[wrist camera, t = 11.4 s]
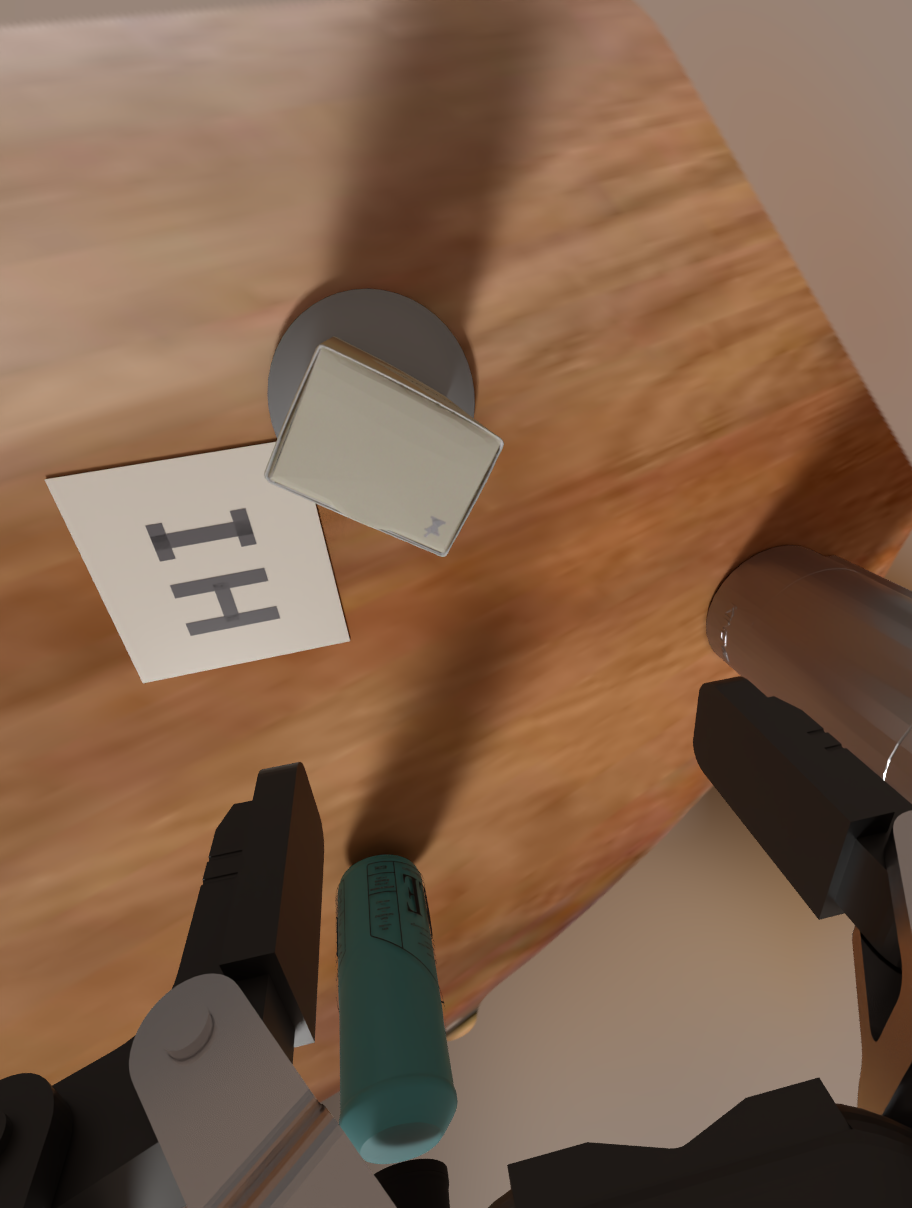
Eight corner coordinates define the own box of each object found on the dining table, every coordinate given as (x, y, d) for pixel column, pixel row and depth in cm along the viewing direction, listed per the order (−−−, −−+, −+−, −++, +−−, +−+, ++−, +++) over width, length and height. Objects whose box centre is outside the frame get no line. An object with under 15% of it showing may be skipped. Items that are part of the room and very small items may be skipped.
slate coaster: (459, 275, 26) (462, 274, 25) (481, 484, 31) (484, 487, 30) (241, 305, 25) (239, 305, 24) (299, 517, 29) (298, 520, 29)
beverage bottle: (318, 877, 42) (304, 1276, 24) (371, 822, 40) (397, 1204, 23) (386, 903, 45) (417, 1277, 27) (439, 851, 43) (508, 1213, 26)
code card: (298, 437, 28) (298, 438, 28) (350, 640, 33) (349, 641, 33) (45, 479, 26) (44, 479, 26) (143, 682, 32) (142, 683, 32)
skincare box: (449, 396, 28) (519, 443, 17) (411, 475, 29) (453, 565, 18) (325, 329, 25) (316, 334, 15) (291, 418, 27) (259, 483, 16)
